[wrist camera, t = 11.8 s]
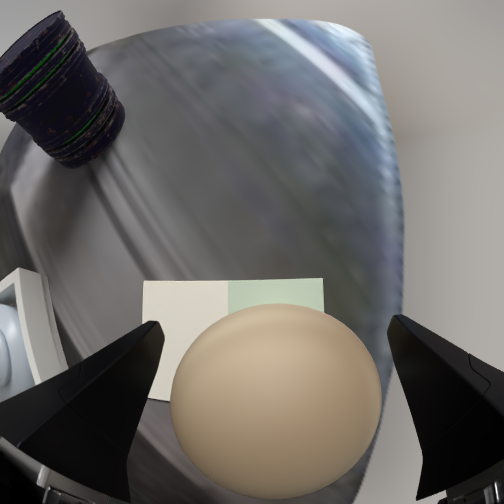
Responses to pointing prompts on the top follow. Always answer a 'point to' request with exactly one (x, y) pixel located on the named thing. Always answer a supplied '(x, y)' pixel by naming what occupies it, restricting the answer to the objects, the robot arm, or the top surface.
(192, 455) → the beech pawn
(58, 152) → the dark blue cylinder
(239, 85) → the top surface
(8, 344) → the dome button
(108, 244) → the top surface
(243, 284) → the game track
